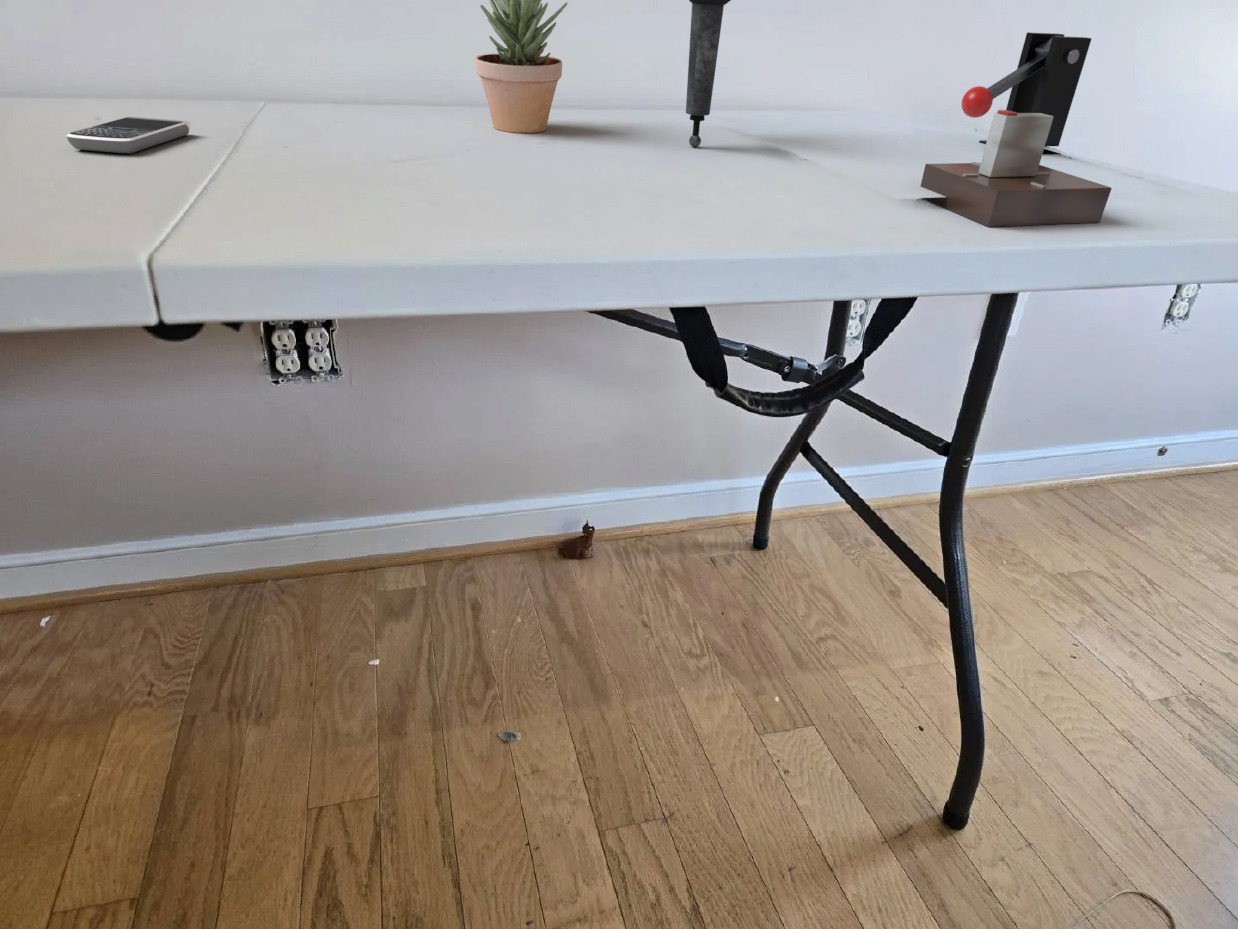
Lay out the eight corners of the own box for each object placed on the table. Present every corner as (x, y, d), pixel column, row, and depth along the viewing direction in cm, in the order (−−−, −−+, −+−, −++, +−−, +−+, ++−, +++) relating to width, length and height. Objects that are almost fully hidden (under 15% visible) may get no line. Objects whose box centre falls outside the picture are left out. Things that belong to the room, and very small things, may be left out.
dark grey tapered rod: (654, 147, 92) (670, -70, 82) (675, 138, 98) (692, -67, 87) (715, 156, 90) (738, -66, 80) (733, 145, 96) (757, -64, 85)
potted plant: (481, 135, 93) (473, -141, 80) (474, 119, 101) (466, -134, 88) (571, 136, 95) (578, -132, 82) (557, 121, 103) (561, -126, 90)
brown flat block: (1021, 193, 83) (1031, 160, 81) (1100, 222, 75) (1113, 185, 73) (917, 196, 79) (925, 161, 78) (988, 227, 71) (999, 188, 70)
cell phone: (64, 151, 76) (60, 134, 75) (137, 129, 86) (133, 114, 85) (130, 156, 76) (126, 140, 75) (196, 134, 85) (193, 119, 84)
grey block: (1023, 172, 77) (1041, 109, 74) (1036, 176, 75) (1055, 113, 73) (977, 173, 75) (994, 109, 72) (989, 177, 74) (1007, 112, 71)
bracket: (1016, 163, 96) (1052, 37, 89) (976, 150, 101) (1007, 30, 95) (1072, 162, 98) (1112, 39, 92) (1030, 150, 104) (1064, 33, 97)
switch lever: (976, 125, 94) (971, 98, 92) (958, 120, 96) (952, 93, 95) (1076, 62, 94) (1073, 33, 92) (1055, 58, 96) (1052, 30, 94)
